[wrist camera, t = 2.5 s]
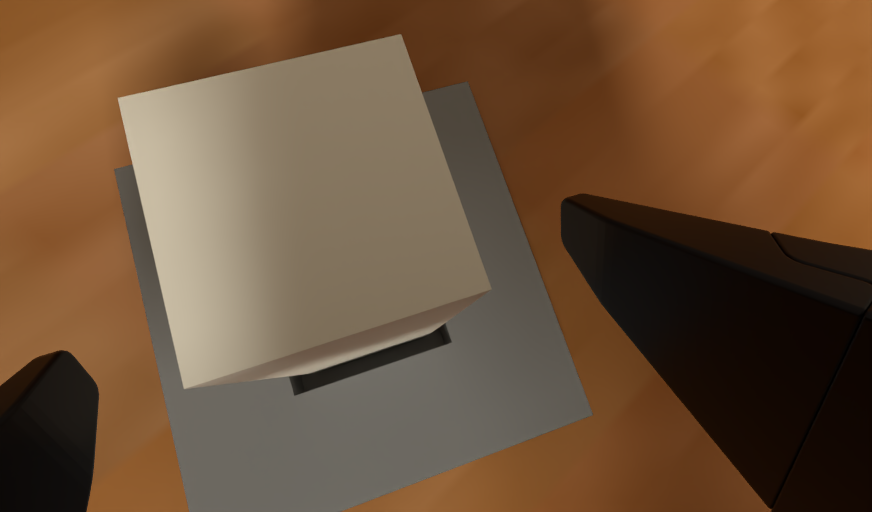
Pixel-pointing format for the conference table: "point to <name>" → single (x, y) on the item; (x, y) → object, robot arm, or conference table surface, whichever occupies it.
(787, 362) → the robot arm
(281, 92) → the plug
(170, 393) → the grey square frame
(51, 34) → the conference table surface
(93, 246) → the conference table surface
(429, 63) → the conference table surface
